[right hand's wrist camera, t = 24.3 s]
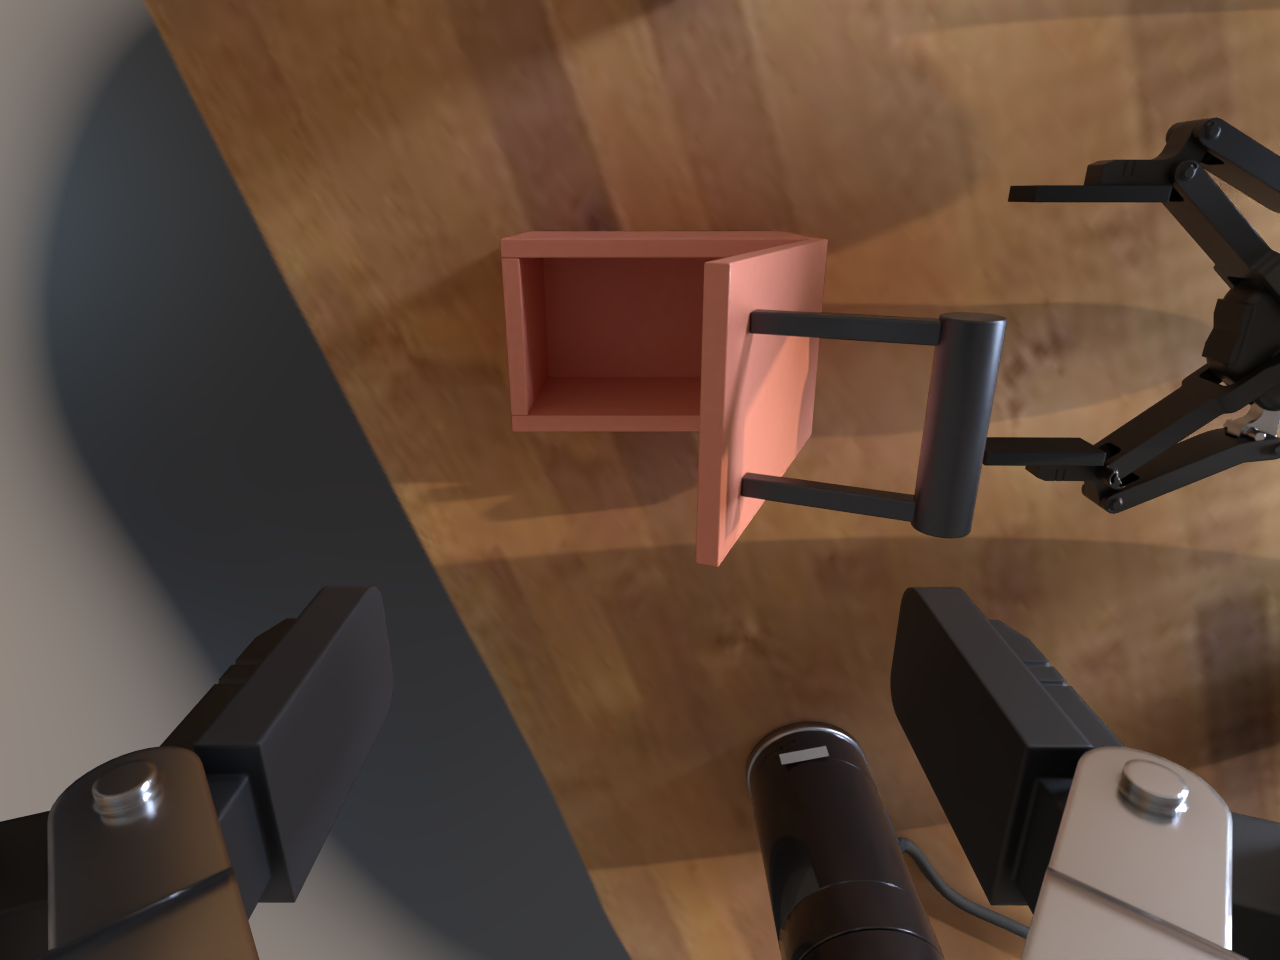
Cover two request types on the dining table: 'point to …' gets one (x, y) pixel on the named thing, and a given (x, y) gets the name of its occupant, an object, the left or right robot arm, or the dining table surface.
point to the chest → (611, 325)
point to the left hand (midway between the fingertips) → (996, 330)
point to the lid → (785, 390)
